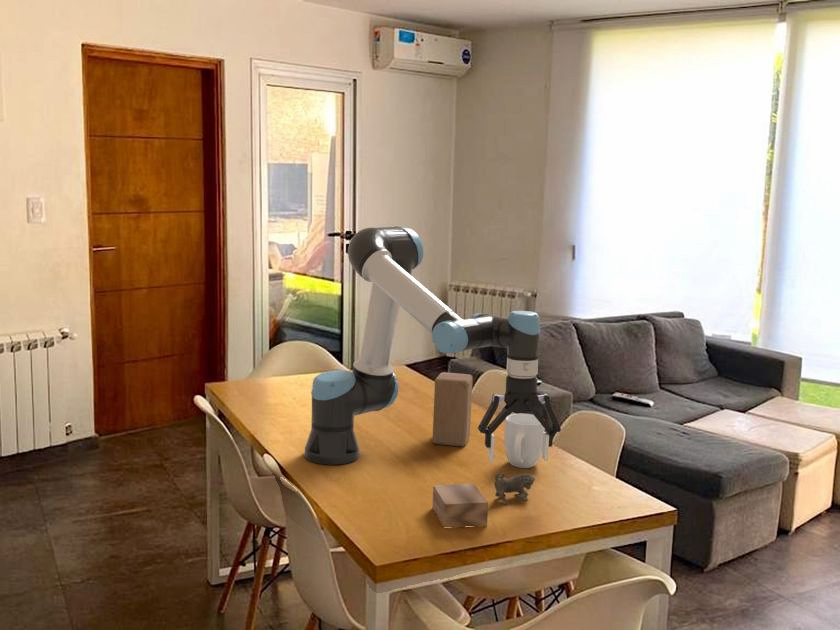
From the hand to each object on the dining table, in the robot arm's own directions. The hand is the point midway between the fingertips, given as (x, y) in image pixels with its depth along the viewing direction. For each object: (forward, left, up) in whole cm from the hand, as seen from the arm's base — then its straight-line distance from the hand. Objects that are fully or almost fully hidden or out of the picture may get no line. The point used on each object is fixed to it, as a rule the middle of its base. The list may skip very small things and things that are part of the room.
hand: (517, 459), depth 211 cm
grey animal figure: (0, 0, -10) cm, 10 cm away
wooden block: (-8, +46, -10) cm, 48 cm away
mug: (+8, +24, -10) cm, 28 cm away
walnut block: (-16, -11, -10) cm, 22 cm away
